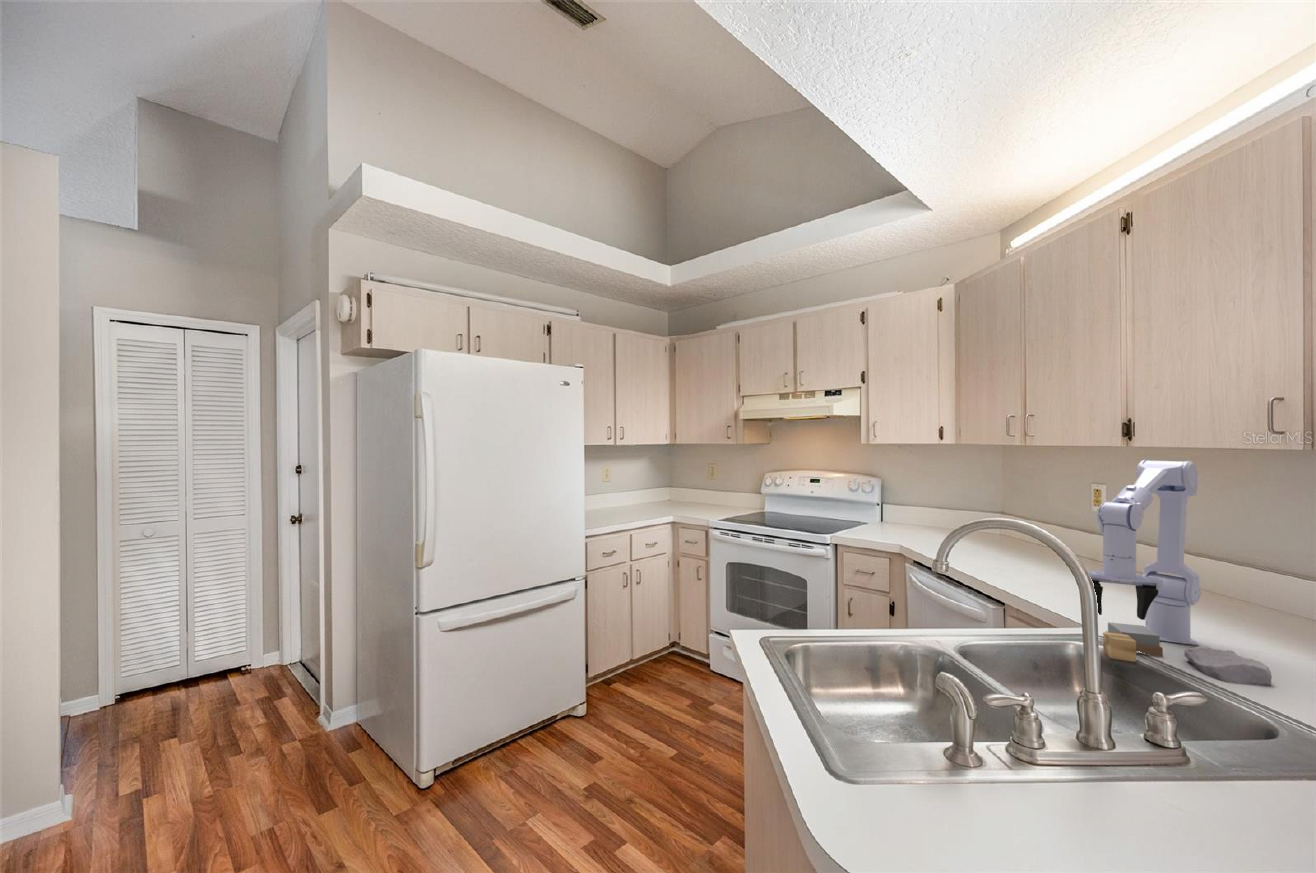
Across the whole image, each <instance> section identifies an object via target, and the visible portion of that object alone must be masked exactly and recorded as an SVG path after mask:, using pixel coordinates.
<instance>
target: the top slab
mask: <svg viewBox="0 0 1316 873" xmlns="http://www.w3.org/2000/svg"><path fill="white" fill-rule="evenodd" d="M1107 632H1108V633H1116V634H1124V635H1129V636H1130V637H1131V638H1132V639H1133V640H1135V641H1136V644H1138V645H1146V646H1155V647H1160V646H1161V645H1160V642H1161V641H1160V636H1159V635H1157V634H1156V633H1154V632H1153V631H1151V630H1150V629H1148V628H1146V627H1145V625H1139V624H1127V623H1119V622H1109V621H1108V622H1107Z"/></svg>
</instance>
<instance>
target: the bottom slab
mask: <svg viewBox="0 0 1316 873" xmlns="http://www.w3.org/2000/svg"><path fill="white" fill-rule="evenodd" d="M1105 632H1108V630H1107V631H1105ZM1163 650H1164V648H1163V647H1162V646H1161V645H1160V647H1155V646H1146V645H1138V644H1136V651H1140V652H1142V653H1145V654H1144V655H1146V654H1150V655H1149V656H1154V657H1163V656H1164V655H1163V654H1164V653H1163V652H1164V651H1163Z"/></svg>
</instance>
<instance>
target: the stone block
mask: <svg viewBox="0 0 1316 873" xmlns="http://www.w3.org/2000/svg"><path fill="white" fill-rule="evenodd" d="M1183 656H1184V657H1185V658H1186V659H1187V660H1188V661H1189V663H1192V664H1193V665H1194V666H1195V667H1196V668H1197V669H1198V670H1200V672H1202V673H1203V674H1205V675H1206V676H1210V677H1212V678H1215V679H1217V680H1220V681H1223V682H1228V683H1234V684H1243V685H1246V684H1247V685H1251V684H1252V685H1258V686H1260V685H1261V686H1262V685H1264V686H1265V685H1266V686H1271V684H1272V678H1273V676H1272V672H1271V670H1270V668H1269V667H1268V666H1267V665H1266V664H1264V663H1263V662H1262V661H1260V660H1255V659H1252V658H1246V657H1242V656H1240V655H1239V654H1237V652H1235V651H1234V650H1224V649H1215V648H1211V647H1203V646H1202V647H1199V646H1196V647H1192V648H1186V649H1185V650H1184V652H1183Z"/></svg>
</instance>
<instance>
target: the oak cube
mask: <svg viewBox="0 0 1316 873" xmlns="http://www.w3.org/2000/svg"><path fill="white" fill-rule="evenodd" d="M1102 634H1103V635H1102V636H1103V637H1102V640H1103V641H1102V642H1103V643H1102V647H1103V648H1102V652H1103V653H1104V654H1106V656H1108V657H1109V659H1114V660H1119V661H1128V662H1137V653H1136V641H1135V640H1133V639H1132V638H1131V637H1130V636H1129V635H1124V634H1116V633H1108V631H1107V632H1106V631H1103V632H1102Z"/></svg>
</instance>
